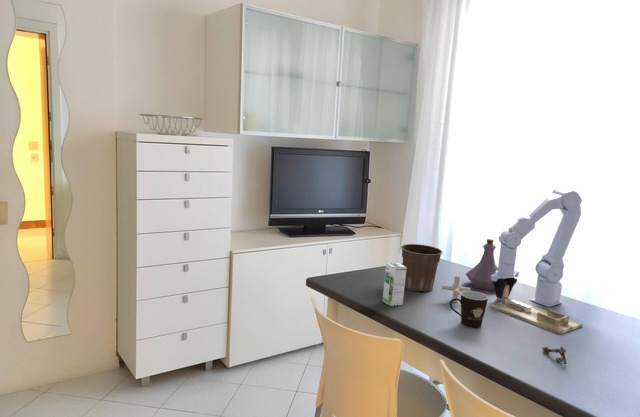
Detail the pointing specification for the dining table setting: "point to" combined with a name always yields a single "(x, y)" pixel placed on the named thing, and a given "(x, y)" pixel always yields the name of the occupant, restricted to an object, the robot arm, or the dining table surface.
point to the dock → (540, 317)
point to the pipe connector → (455, 288)
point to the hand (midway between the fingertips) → (502, 296)
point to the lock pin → (517, 304)
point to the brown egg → (504, 293)
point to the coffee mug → (471, 308)
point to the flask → (484, 269)
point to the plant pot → (420, 266)
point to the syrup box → (394, 284)
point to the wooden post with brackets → (561, 350)
